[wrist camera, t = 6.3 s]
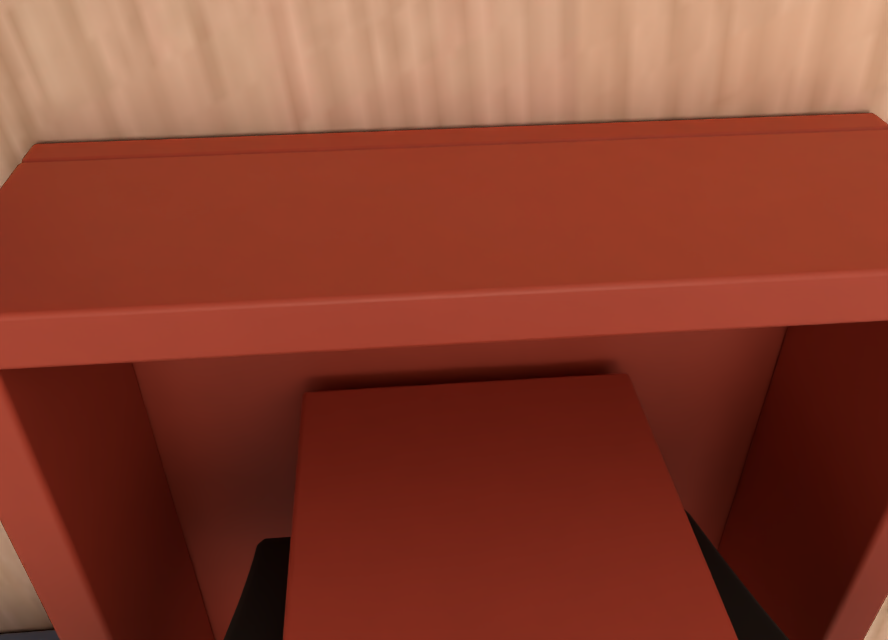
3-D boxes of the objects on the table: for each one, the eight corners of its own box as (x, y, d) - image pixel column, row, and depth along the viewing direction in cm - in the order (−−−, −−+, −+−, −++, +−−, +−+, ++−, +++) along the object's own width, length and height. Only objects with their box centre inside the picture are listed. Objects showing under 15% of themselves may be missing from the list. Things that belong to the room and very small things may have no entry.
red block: (593, 571, 14) (676, 868, 10) (330, 590, 14) (320, 905, 10) (628, 369, 11) (757, 678, 8) (301, 389, 11) (274, 719, 7)
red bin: (704, 628, 17) (773, 810, 14) (203, 668, 16) (171, 868, 13) (874, 110, 10) (1072, 261, 7) (31, 141, 9) (-103, 321, 7)
